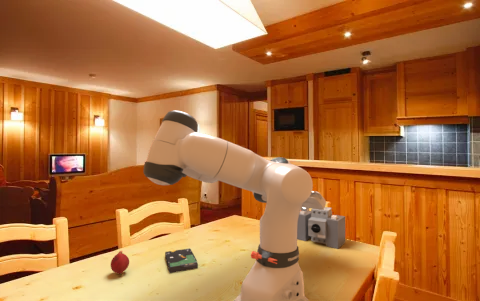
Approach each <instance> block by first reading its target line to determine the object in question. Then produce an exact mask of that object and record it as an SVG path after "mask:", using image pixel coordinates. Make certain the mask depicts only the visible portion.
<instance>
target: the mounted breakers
mask: <svg viewBox="0 0 480 301" xmlns="http://www.w3.org/2000/svg"><path fill="white" fill-rule="evenodd" d="M310 218H311V210H309V212H305V211H301V210H300V213H299V217H298V224H297V241H303V242H306V241H308V240H311V237H312V236H308V219H310ZM345 243H346V216H344V215H339V214H332V216H331V217H329V218H328V219H326V244H325V245H326V247H327V248H328V247H329V248H332V249H336V250H338V249H340V247H342V246H343V245H345Z"/></svg>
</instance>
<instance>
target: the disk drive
mask: <svg viewBox="0 0 480 301" xmlns="http://www.w3.org/2000/svg"><path fill="white" fill-rule="evenodd" d="M164 257H165V261H166V266H167V270H168V273H169V274H173V273H178V272H186V271H190V270H195V269H198V268H199V264H198V263H199V262H198V261H197V258H196V257H195V255H194V253H193V251H192V249H191V248H184V249H177V250H175V251H171V250H169V251H165V252H164Z"/></svg>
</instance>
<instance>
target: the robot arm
mask: <svg viewBox="0 0 480 301" xmlns="http://www.w3.org/2000/svg"><path fill="white" fill-rule="evenodd" d="M198 128H199V124H198V121H197V120H196V118H194V116H193V115H191V114H189V113H187V112H184V111H181V110H169V111H168V112H167V113H166V114H165V115H164V117H163V119H162V120H161V124H160V125H159V128H158V130H157V132H156V134H155V136H154V138H153V140H152V142H151V144H150V147H149V150H148V154H147V157H146V161H145V162H144V164H143V175H144V176H145V177H146V178H147V179H148V180H150V181H151V182H152V183H154V184H156V185H160V186H172V185H175V184H176V183H179V182H180V180H181V179H182V178H186V177H188V178H192V179H194V180H198V181H201V182H202V183H208V184H214V183H217V182H218V181H219V182H222V183H225V184H228V185H230V186H234V187H236V188H240V189H243V190H246V191H249V192H252V195H253V198H254V199H255V200H256V201H257V202H259V203H263V204H265V209H264V212H263V215H261V217H260V219H259V244H258V247H257V249H256V250H257V251H255V250H253V251H251V253H250V258H251V259H253V260H255V262H254V263H253V265H252V267H251V268H250V270H249V271H248V273H247V274H246V276H245V278H244V279H243V281H242V283H241V288H240V293H239V294H238V296H236V297H235V298H234V300H233V301H309V299H308V298H307V296H306V295H305V284H304V282H305V281H304V272H303V271H302V268H301V267H300V264H299V259H300V250H299V248H300V247H299V246H298V239H297V224H298V217H299V213H300V211H305V212H309V211H310V209H320V210H323V209H324V208H325V207H326V204H327V202H326V201H327V200H326V199H325V197H323V195H322V194H321V193H320V192H318V191H316V190H313V188H314V186H313V185H314V184H313V183H314V182H313V179H312V176H311V175H310V173H309V172H307V170H306V169H304V168H302V167H300V166H298V165H296V164H294V163H293V164H292V163H291V161H290V160H288V159H287V158H286V157H282V156H281V157H280V156H278V157H274V158H272V159H270V160H269V159H267V158H265V157H263V156H261V155H259V154H257V153H256V152H253V151H252V150H250V149H248V148H245V147H243V146H240V145H239V144H235V143H233V142H231V141H228V140H227V139H226V140H225V139H223V138H220V137H219V136H218V137H217V136H215V135H209V134H206V133H201V132H198V130H199V129H198Z"/></svg>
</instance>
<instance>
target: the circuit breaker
mask: <svg viewBox="0 0 480 301" xmlns="http://www.w3.org/2000/svg"><path fill="white" fill-rule="evenodd" d="M310 209H311V210H310V211H311V218H310V219H308V236H312V237H311V238H310V240H311V242H314V243H319V244H324V245H326V219H328V218H329V217H331V216H332V215H333V211H332V209H333V208H332V207H327V206H325V208H324V209H323V210H320V209H312V208H310Z"/></svg>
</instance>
